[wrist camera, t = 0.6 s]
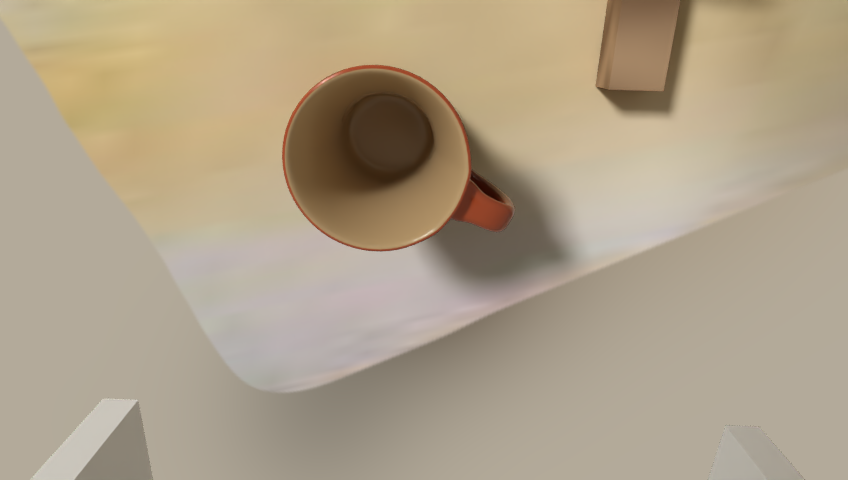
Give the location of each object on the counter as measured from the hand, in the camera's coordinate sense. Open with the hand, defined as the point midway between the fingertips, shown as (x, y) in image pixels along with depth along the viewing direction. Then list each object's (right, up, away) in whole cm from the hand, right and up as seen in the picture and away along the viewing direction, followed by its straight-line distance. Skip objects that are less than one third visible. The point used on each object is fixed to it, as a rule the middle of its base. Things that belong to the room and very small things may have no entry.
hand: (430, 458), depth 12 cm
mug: (-1, +12, +22) cm, 25 cm away
